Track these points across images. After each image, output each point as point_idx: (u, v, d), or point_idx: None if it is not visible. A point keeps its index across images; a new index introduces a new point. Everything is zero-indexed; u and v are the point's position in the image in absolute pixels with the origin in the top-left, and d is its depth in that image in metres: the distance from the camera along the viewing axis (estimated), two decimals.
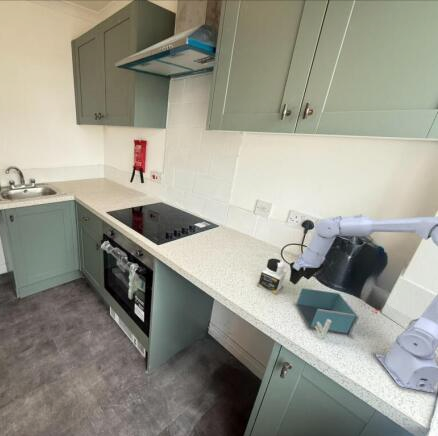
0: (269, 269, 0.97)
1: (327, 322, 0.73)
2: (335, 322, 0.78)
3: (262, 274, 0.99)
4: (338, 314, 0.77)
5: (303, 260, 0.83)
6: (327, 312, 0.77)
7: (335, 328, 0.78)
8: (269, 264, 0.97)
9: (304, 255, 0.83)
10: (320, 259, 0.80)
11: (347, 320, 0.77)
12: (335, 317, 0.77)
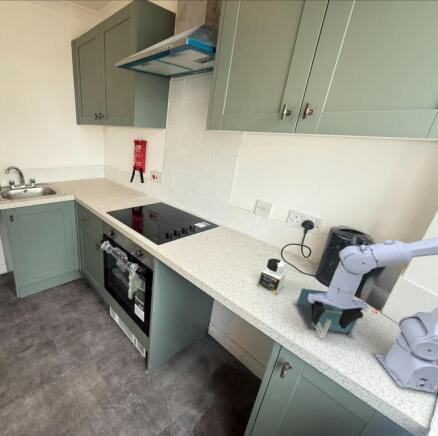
0: (269, 269, 0.97)
1: (327, 322, 0.73)
2: (335, 322, 0.78)
3: (262, 274, 0.99)
4: (338, 314, 0.77)
5: (325, 296, 0.71)
6: (327, 312, 0.77)
7: (335, 328, 0.78)
8: (269, 264, 0.97)
9: None
10: (343, 297, 0.67)
11: None
12: (335, 317, 0.77)
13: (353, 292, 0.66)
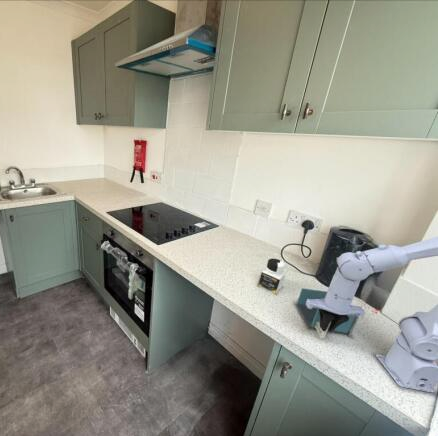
0: (269, 269, 0.97)
1: None
2: None
3: (262, 274, 0.99)
4: None
5: (323, 301, 0.72)
6: None
7: (335, 328, 0.78)
8: (269, 264, 0.97)
9: None
10: (340, 303, 0.68)
11: None
12: None
13: (350, 298, 0.67)
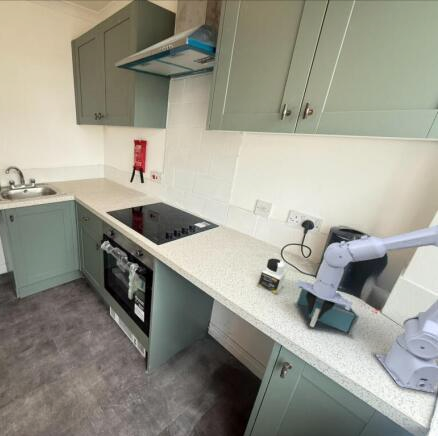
0: (269, 269, 0.97)
1: (316, 310, 0.78)
2: (333, 317, 0.80)
3: (262, 274, 0.99)
4: (335, 310, 0.78)
5: None
6: None
7: (333, 324, 0.80)
8: (269, 264, 0.97)
9: None
10: (320, 287, 0.74)
11: (345, 318, 0.77)
12: (333, 312, 0.79)
13: (334, 285, 0.72)
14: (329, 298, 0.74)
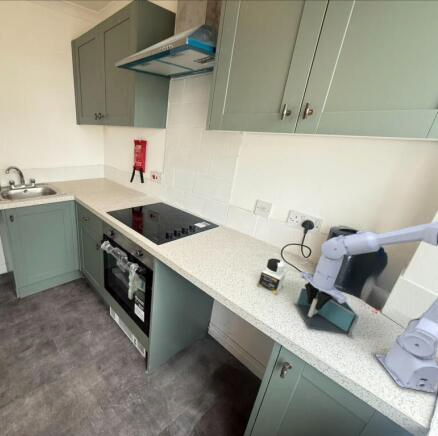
0: (269, 269, 0.97)
1: (313, 300, 0.82)
2: (334, 314, 0.81)
3: (262, 274, 0.99)
4: (337, 306, 0.80)
5: None
6: None
7: (334, 321, 0.81)
8: (269, 264, 0.97)
9: None
10: (316, 277, 0.79)
11: (346, 317, 0.78)
12: (334, 308, 0.81)
13: (330, 276, 0.76)
14: (323, 289, 0.78)
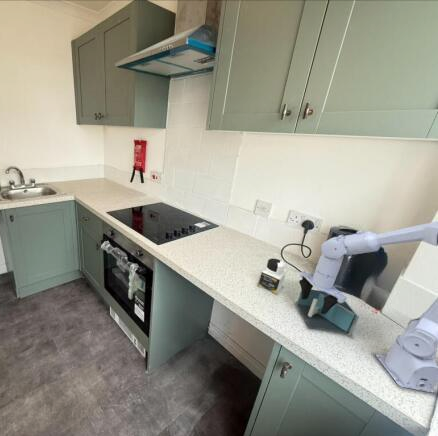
0: (269, 269, 0.97)
1: (313, 300, 0.82)
2: (334, 314, 0.81)
3: (262, 274, 0.99)
4: (337, 306, 0.80)
5: None
6: None
7: (334, 321, 0.81)
8: (269, 264, 0.97)
9: None
10: (316, 276, 0.79)
11: (346, 317, 0.78)
12: (334, 308, 0.81)
13: (330, 276, 0.76)
14: (323, 288, 0.78)
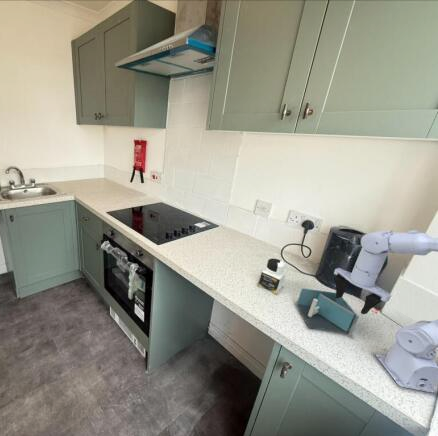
0: (269, 269, 0.97)
1: (313, 300, 0.82)
2: (334, 314, 0.81)
3: (262, 274, 0.99)
4: (337, 306, 0.80)
5: None
6: (327, 300, 0.82)
7: (334, 321, 0.81)
8: (269, 264, 0.97)
9: None
10: (355, 273, 0.74)
11: (346, 317, 0.78)
12: (334, 308, 0.81)
13: (369, 272, 0.71)
14: (364, 286, 0.73)
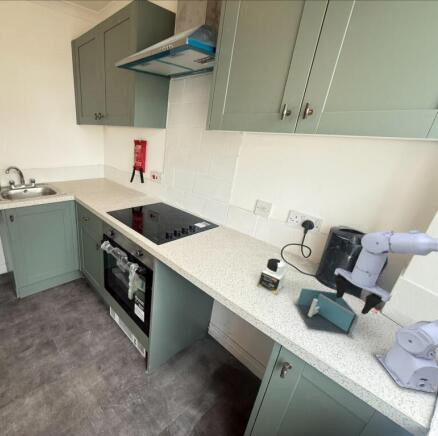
0: (269, 269, 0.97)
1: (313, 300, 0.82)
2: (334, 314, 0.81)
3: (262, 274, 0.99)
4: (337, 306, 0.80)
5: None
6: (327, 300, 0.82)
7: (334, 321, 0.81)
8: (269, 264, 0.97)
9: None
10: (356, 273, 0.74)
11: (346, 317, 0.78)
12: (334, 308, 0.81)
13: (370, 272, 0.71)
14: (364, 286, 0.72)
